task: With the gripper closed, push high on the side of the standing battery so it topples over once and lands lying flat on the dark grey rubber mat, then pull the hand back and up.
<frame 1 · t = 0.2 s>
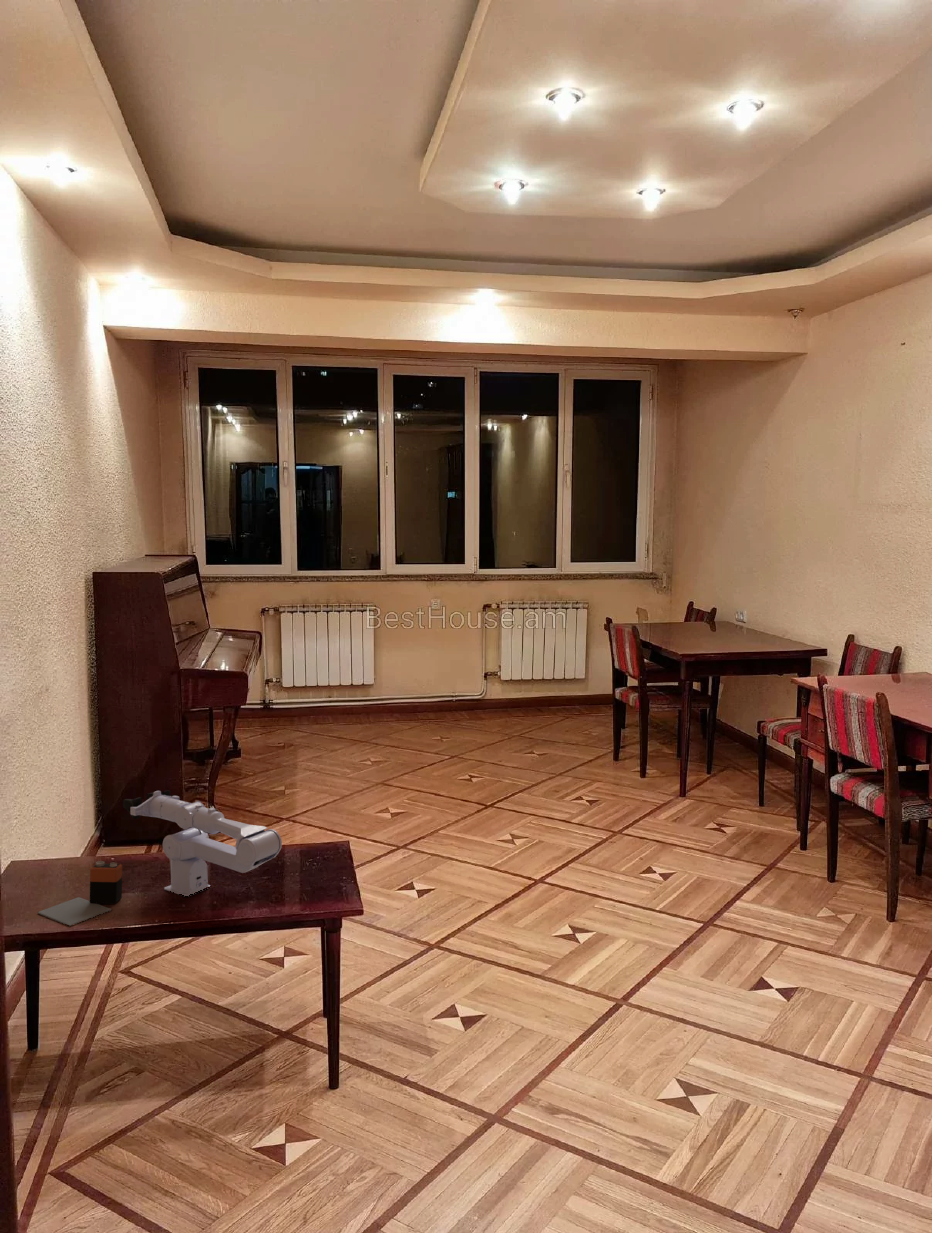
hand: (135, 800, 239), 21 cm above the table, tool horizontal, fingers open, 7 cm apart
battery: (105, 901, 222), on the table, touching mat
mat: (74, 912, 216), on the table
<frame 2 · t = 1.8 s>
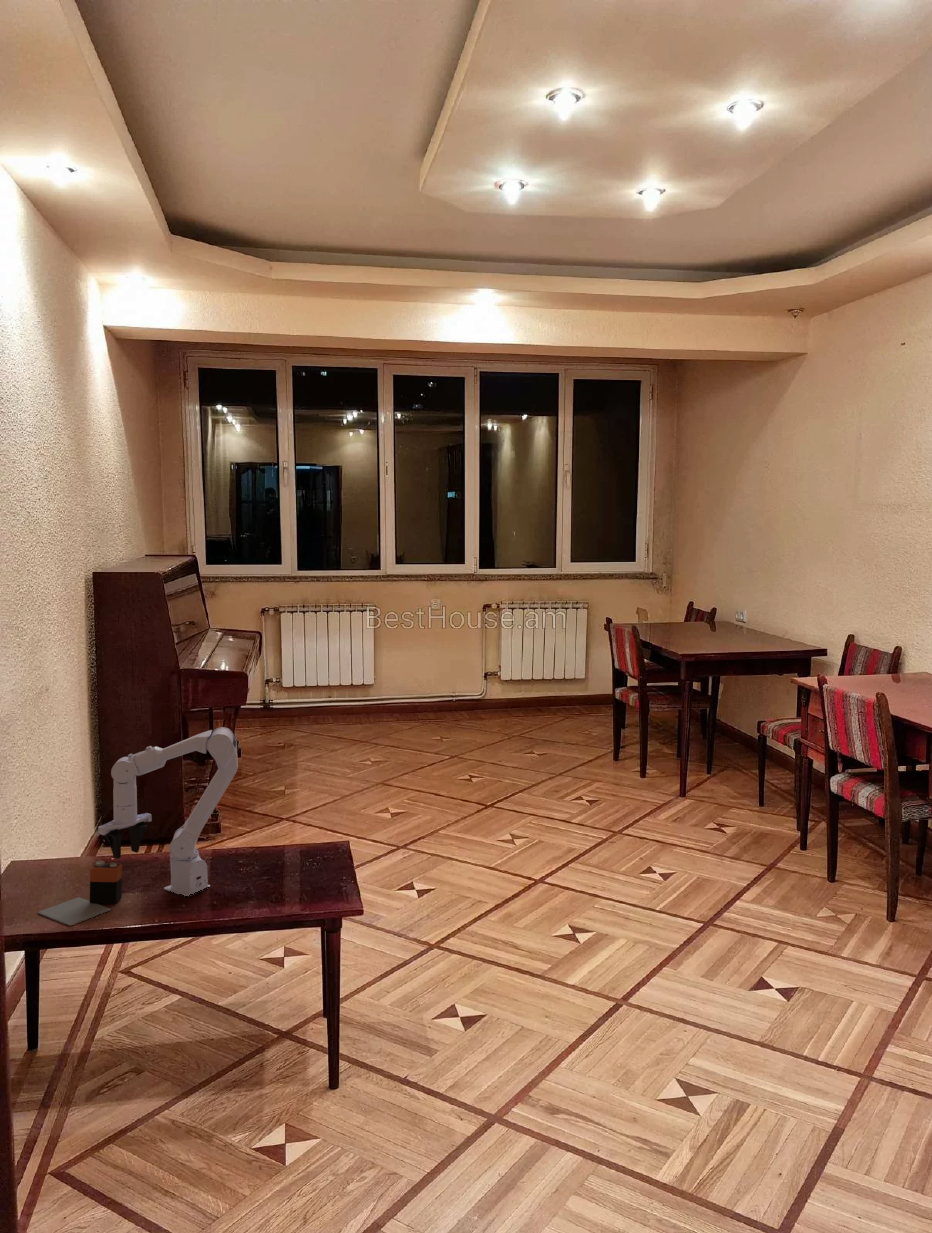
hand: (126, 854, 227), 10 cm above the table, tool pointing down, fingers open, 5 cm apart
nothing on the table moved.
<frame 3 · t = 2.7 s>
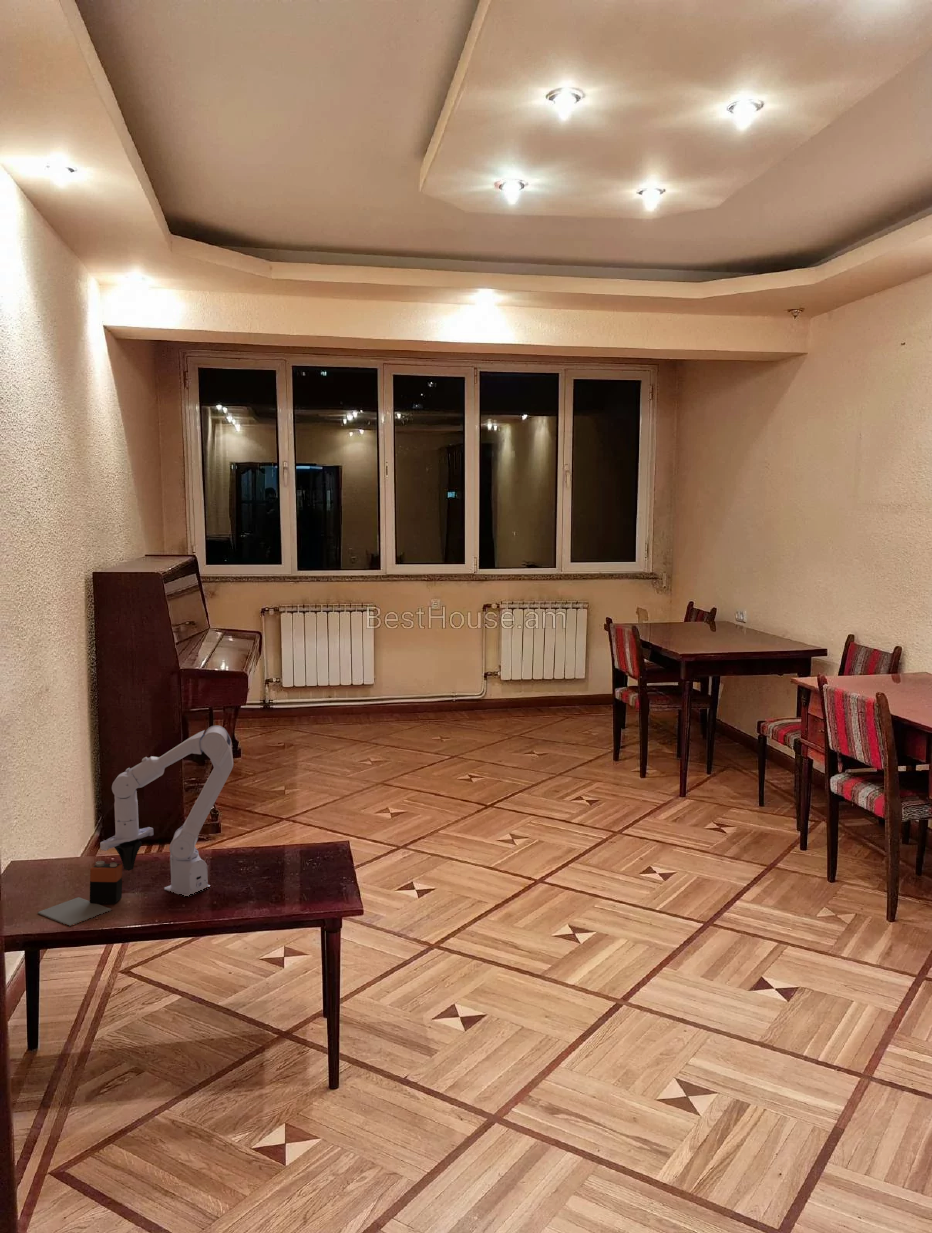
hand: (128, 869, 227), 6 cm above the table, tool pointing down, fingers closed
nothing on the table moved.
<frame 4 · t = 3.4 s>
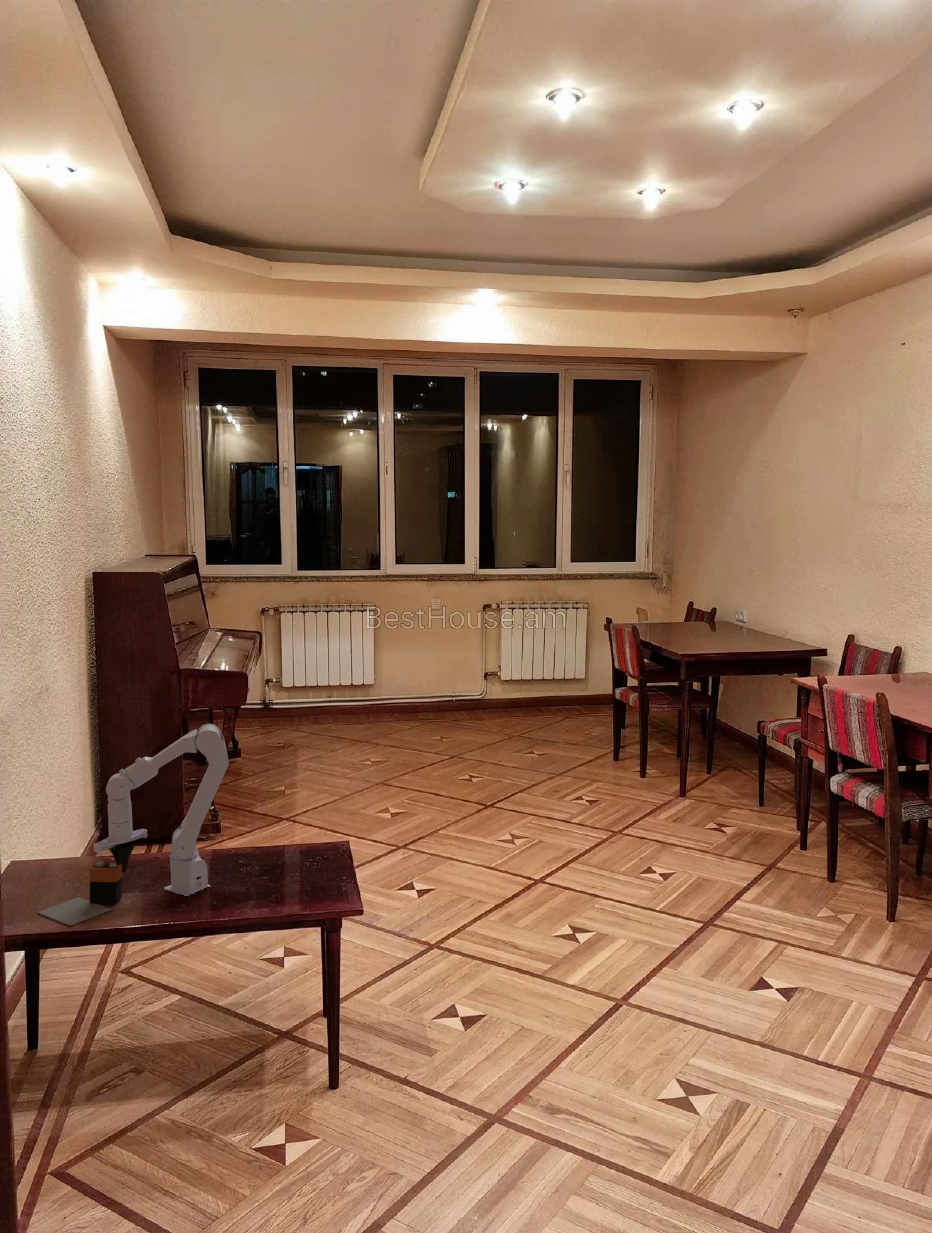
hand: (122, 871, 225), 6 cm above the table, tool pointing down, fingers closed, pressing on battery
battery: (105, 901, 222), on the table, touching gripper, mat
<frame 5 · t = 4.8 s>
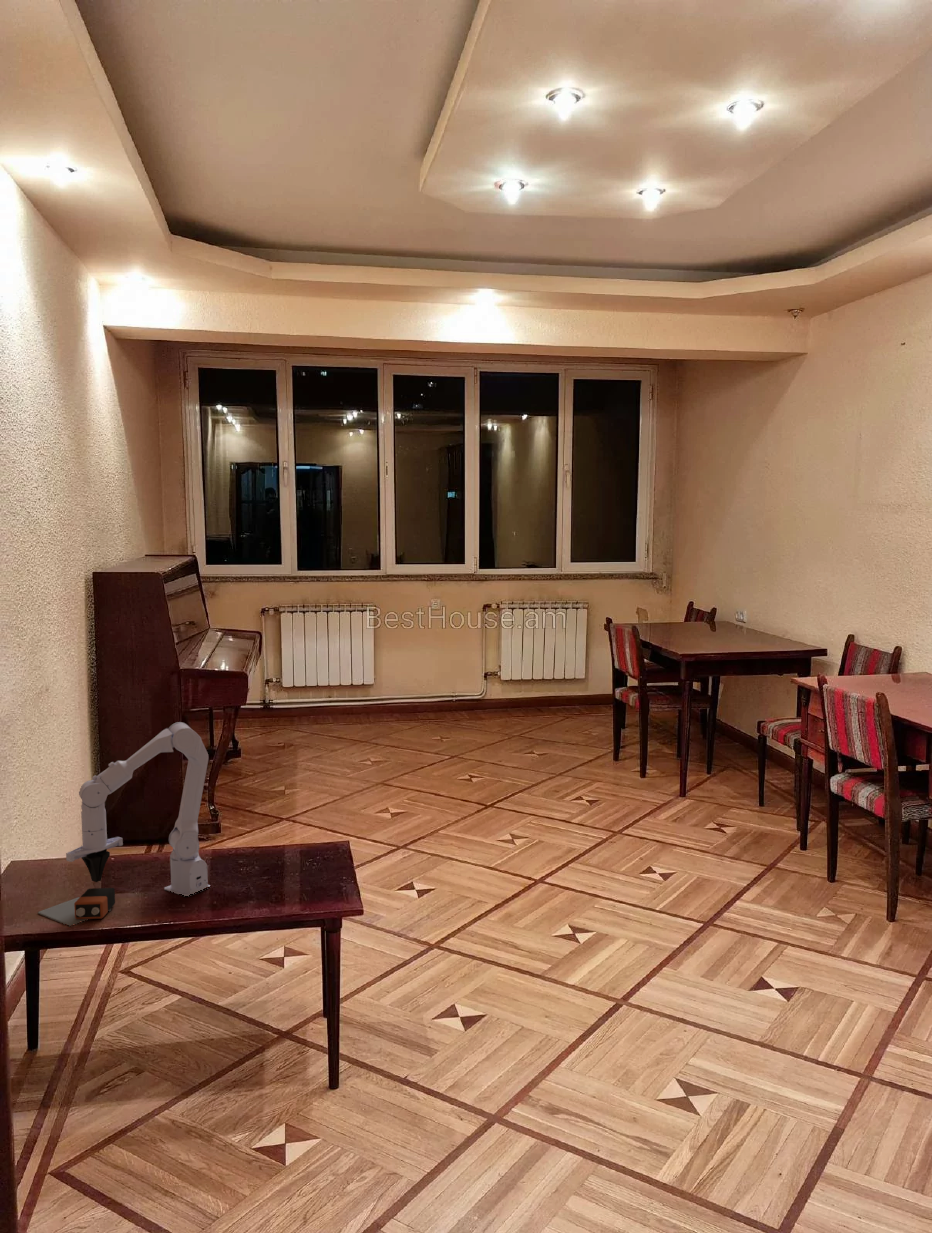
hand: (96, 880, 219), 6 cm above the table, tool pointing down, fingers closed
battery: (102, 895, 219), point 3 cm above the table, touching mat
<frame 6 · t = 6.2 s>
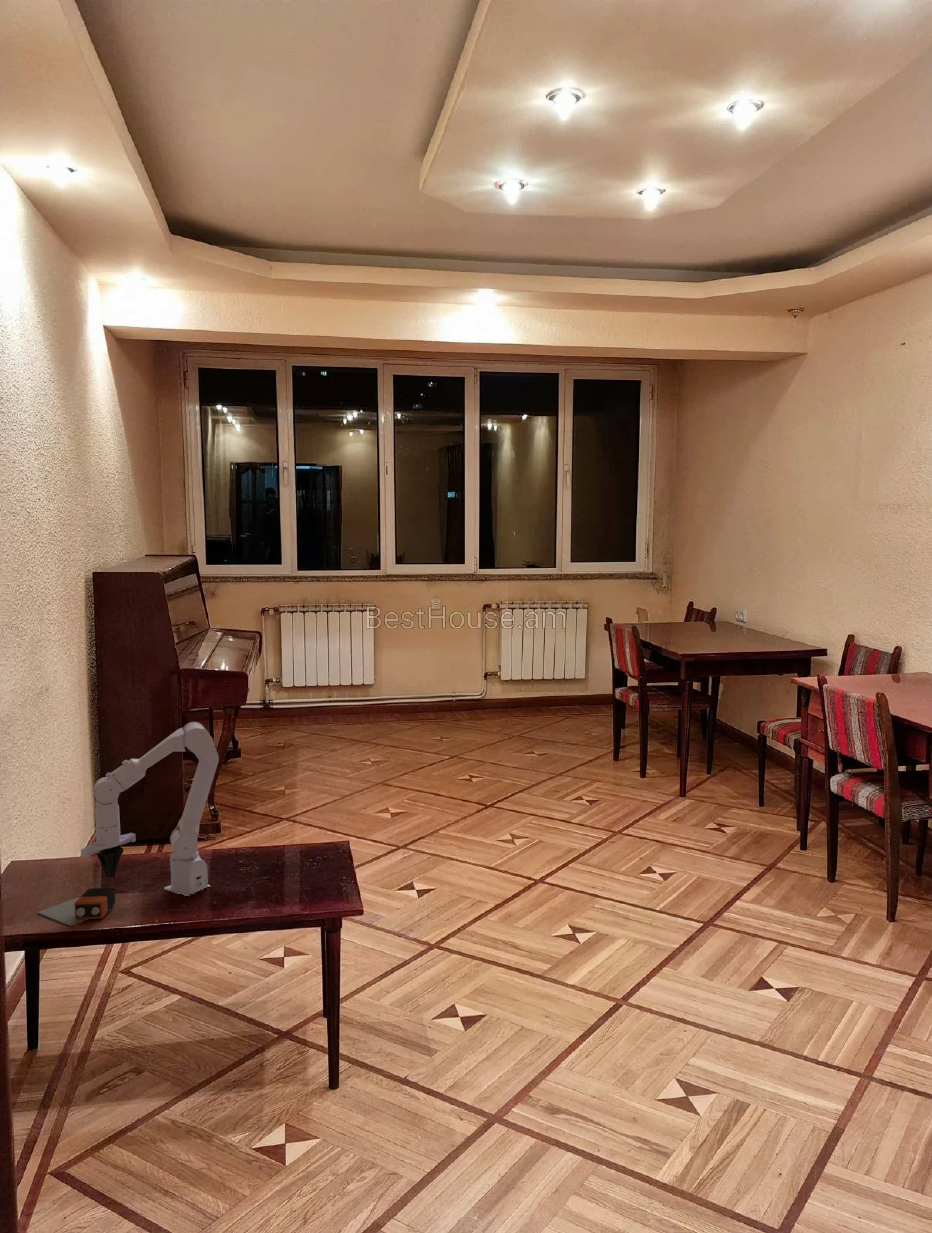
hand: (110, 876, 222), 6 cm above the table, tool pointing down, fingers closed
nothing on the table moved.
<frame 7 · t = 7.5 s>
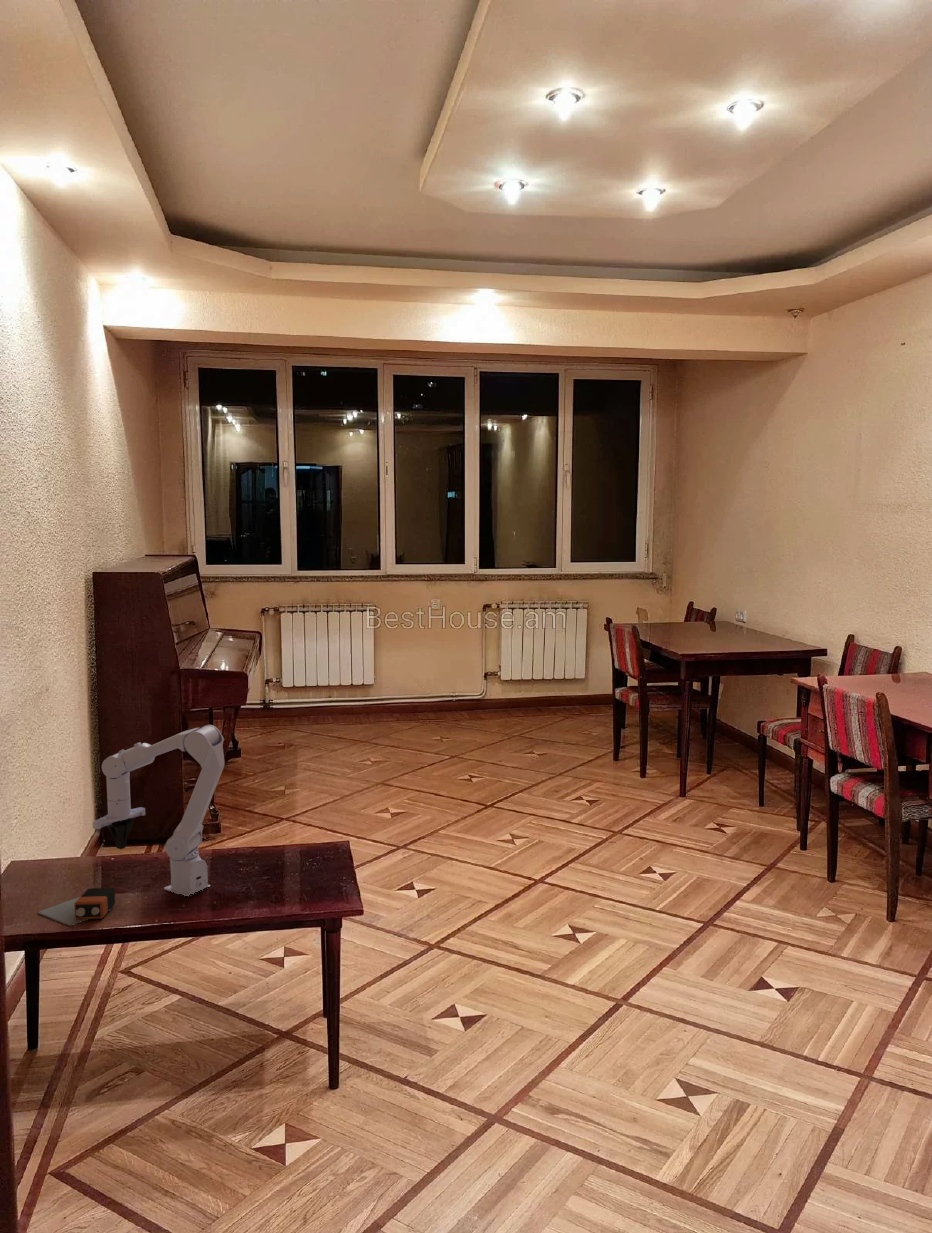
hand: (120, 847, 232), 10 cm above the table, tool pointing down, fingers closed
nothing on the table moved.
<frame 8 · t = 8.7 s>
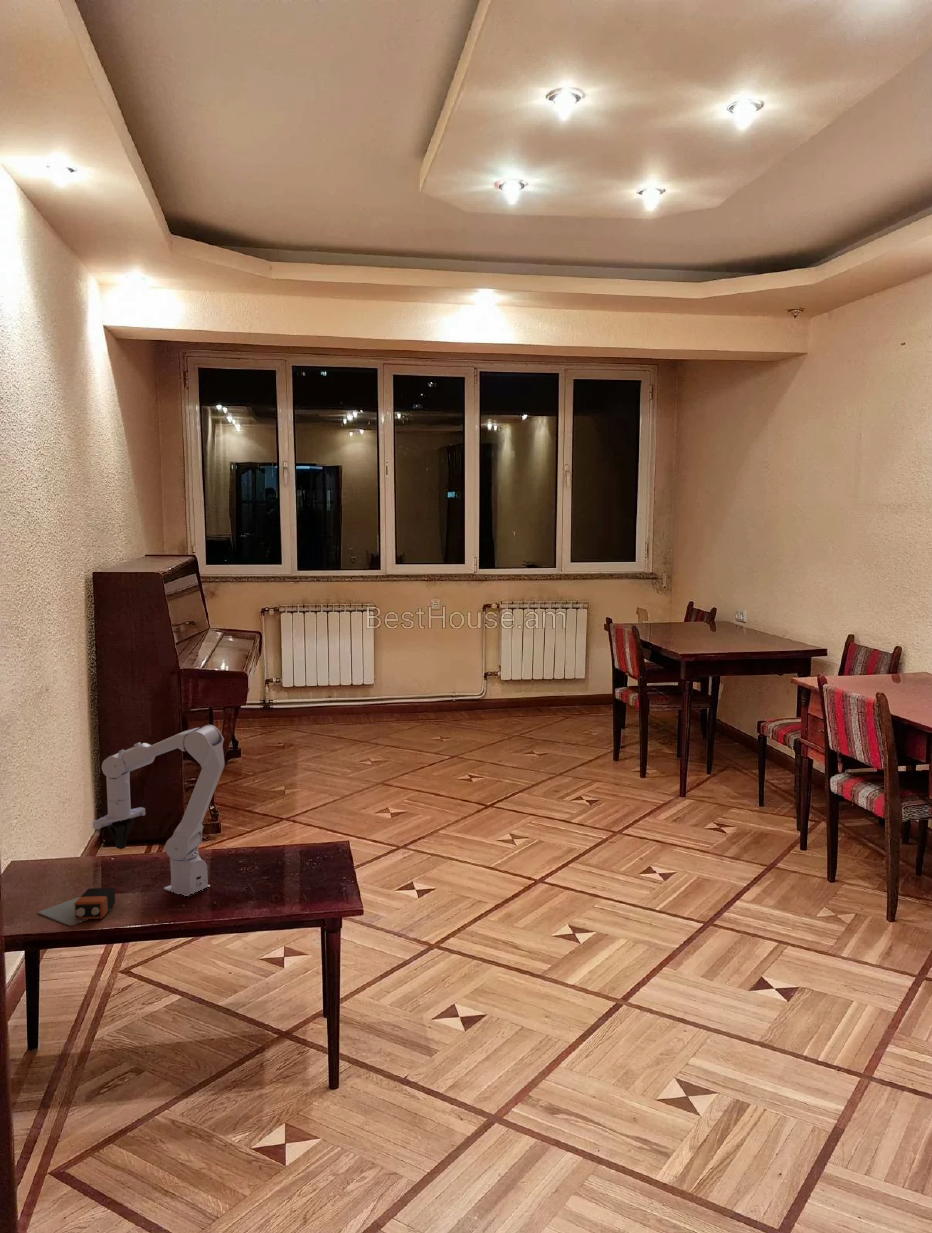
hand: (120, 847, 232), 10 cm above the table, tool pointing down, fingers closed
nothing on the table moved.
at the end: battery tilted 90°; battery touching mat; battery inside the target area (4.4 cm from its centre), point 2.6 cm above the table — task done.
